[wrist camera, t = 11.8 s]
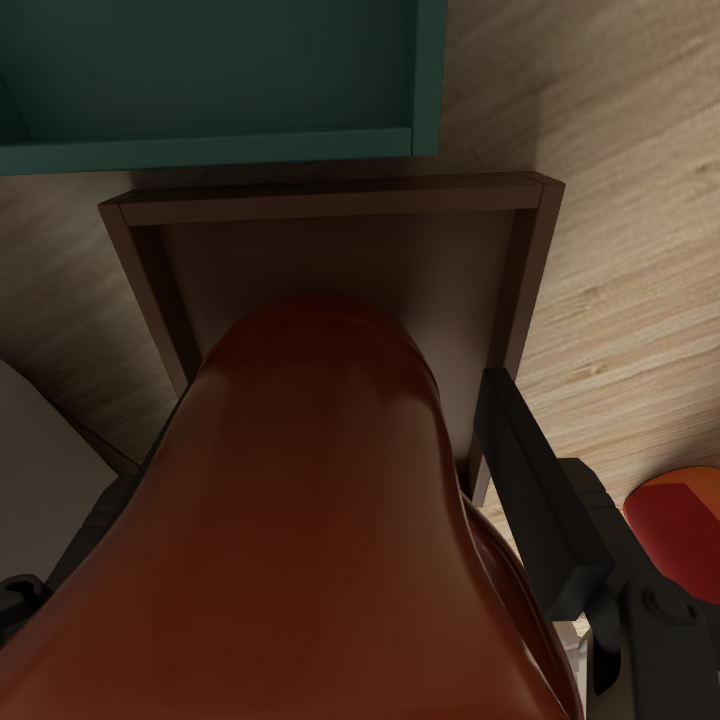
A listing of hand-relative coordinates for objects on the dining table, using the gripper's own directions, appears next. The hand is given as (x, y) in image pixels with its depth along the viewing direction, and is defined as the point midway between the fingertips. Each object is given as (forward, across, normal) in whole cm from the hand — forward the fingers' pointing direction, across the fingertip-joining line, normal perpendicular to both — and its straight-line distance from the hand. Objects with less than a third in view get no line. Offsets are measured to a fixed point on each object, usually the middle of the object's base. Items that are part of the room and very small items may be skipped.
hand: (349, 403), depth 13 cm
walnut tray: (+2, 0, 0) cm, 2 cm away
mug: (+1, 0, 0) cm, 1 cm away
